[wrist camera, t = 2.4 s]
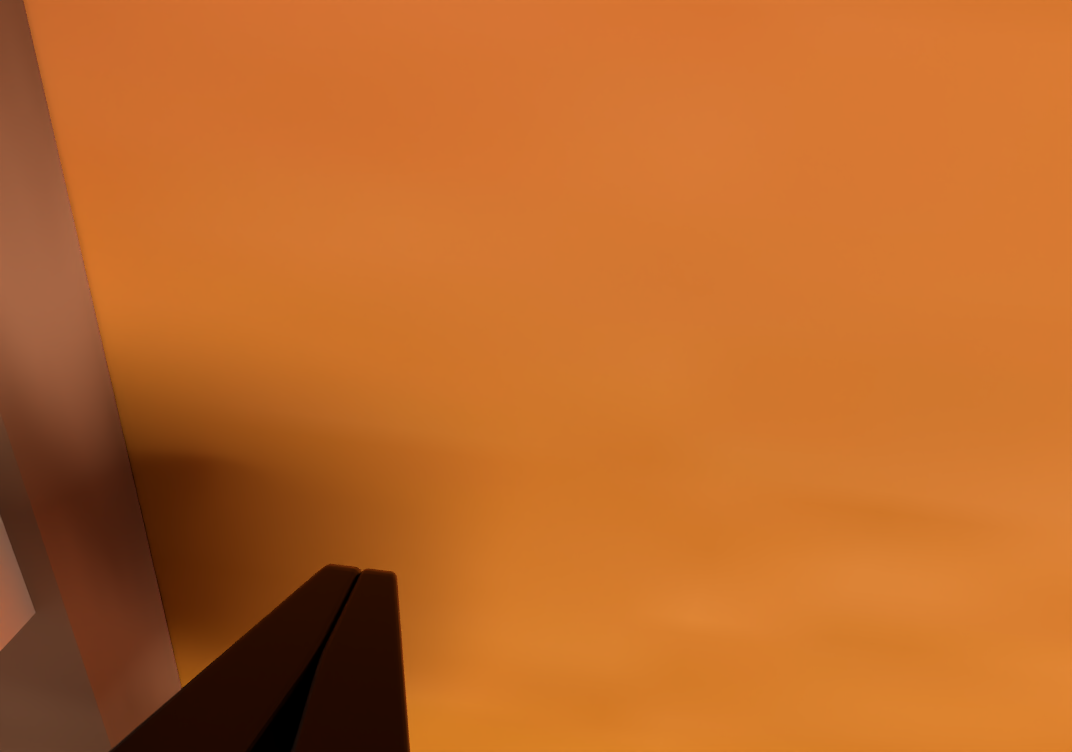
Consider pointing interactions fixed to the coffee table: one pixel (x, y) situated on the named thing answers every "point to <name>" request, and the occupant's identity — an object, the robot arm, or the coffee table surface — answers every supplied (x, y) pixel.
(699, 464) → the coffee table surface
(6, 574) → the peach square block
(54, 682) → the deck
